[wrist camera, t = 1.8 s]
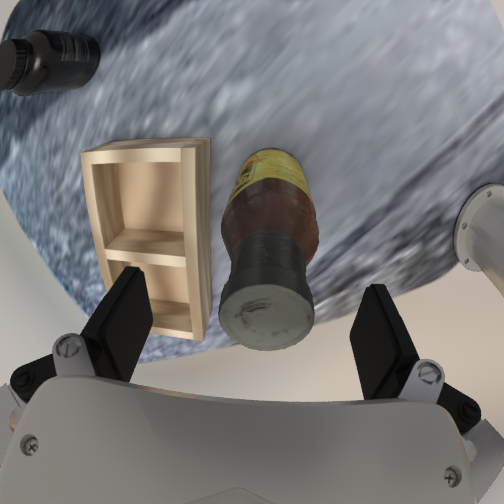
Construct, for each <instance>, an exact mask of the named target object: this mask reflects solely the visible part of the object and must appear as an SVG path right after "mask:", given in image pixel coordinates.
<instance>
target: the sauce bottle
mask: <svg viewBox="0 0 504 504" xmlns="http://www.w3.org/2000/svg"><path fill="white" fill-rule="evenodd" d="M221 235H222V238H223V241H224V244H225V246H226V249H227V252H228V254H229V257H230V259H231V262H232V263H231V274H230V276H229V280H228V281H227V283H226V284H225V285H224V288H223V291H222V293H221V301H220V306H219V312H218V315H219V321H220V324H221V327H222V328H223V330H224V331H225V332H226V333H227V335H228V336H229V337H230V338H231V339H233V340H234V341H236V342H238V343H239V344H241V345H243V346H245V347H248V348H250V349H255V350H259V351H273V350H279V349H285V348H287V347H290V346H292V345H295V344H297V343H298V342H300V341H301V340H303V339H304V338H305V337H306V335H308V333H309V332H310V331H311V329H312V326H313V322H314V314H315V313H314V304H313V299H312V294H311V291H310V288H309V286H308V284H307V282H306V274H305V273H306V266H307V265H308V264H309V263H310V261H311V260H312V258H313V256H314V254H315V252H316V251H317V247H318V244H319V238H318V236H319V231H318V225H317V221H316V212H315V208H314V205H313V201H312V198H311V195H310V192H309V188H308V185H307V182H306V179H305V176H304V173H303V170H302V168H301V166H300V164H299V163H298V162H297V161H296V159H295V158H294V157H293V156H292V155H290V154H288V153H287V152H285V151H282V150H280V149H276V148H266V149H263V150H260V151H258V152H257V153H254V154H253V155H252V156H250V157H249V158H248V159H247V160H246V161H245V163H244V164H243V166H242V168H241V171H240V173H239V175H238V178H237V180H236V183H235V185H234V188H233V190H232V193H231V195H230V198H229V201H228V203H227V206H226V209H225V212H224V214H223V218H222V222H221Z"/></svg>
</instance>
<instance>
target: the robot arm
mask: <svg viewBox="0 0 504 504" xmlns="http://www.w3.org/2000/svg"><path fill="white" fill-rule="evenodd" d="M454 250H455V253H456V256H457V258H458V260H459V261H460V263H462V265H463V266H464V267H466V268H467V269H468V270H471V271H477V272H478V271H483V272H484V273H485V274H486V276H487V277H488V278H489V279H490V280H491V281H492V283H493V284H494V285H495V286H496V288H497V289H498V290H499V291H500V292H501V294H502V295H503V297H504V186H503V185H500V184H494V183H492V184H488V185H485V186H483V187H481V188H480V189H478V190H477V191H476V192H475V193H474V194H473V195H472V196H471V197H470V198H469V199H468V201H467V202H466V204H465V205H464V207H463V208H462V210H461V212H460V214H459V217H458V220H457V223H456V226H455V231H454ZM152 325H153V314H152V309H151V305H150V300H149V295H148V290H147V285H146V279H145V274H144V271H141V269H140V267H135V266H126V267H125V268H124V269H123V271H122V272H121V274H120V275H119V277H118V278H117V279H116V281H115V282H114V284H113V285H112V287H111V288H110V290H109V291H108V293H107V294H106V295H105V296H104V298H103V299H102V301H101V302H100V304H99V305H98V307H97V308H96V310H95V311H94V313H93V314H92V316H91V318H90V319H89V321H88V322H87V324H86V326H85V327H84V329H83V330H82V332H81V334H80V335H78V334H76V333H69V334H65V335H63V336H61V337H60V338H58V339H57V340H56V342H55V343H54V345H53V350H52V352H53V353H52V354H50V355H47V356H45V357H42V358H40V359H37V360H35V361H33V362H30V363H28V364H25V365H23V366H21V367H19V368H17V369H16V370H15V371H14V372H13V374H12V376H11V379H10V384H9V385H7V384H6V383H5V384H4V385H3V386H1V387H0V504H477V503H478V502H479V501H480V499H481V498H482V497H483V496H484V494H485V493H486V492H487V490H488V489H489V487H490V486H491V485H492V483H493V482H494V480H495V479H496V477H497V476H498V474H499V473H500V471H501V470H502V468H503V467H504V439H503V437H502V436H501V435H500V434H499V433H498V432H497V431H496V430H495V428H494V427H493V426H492V425H491V424H490V423H489V422H488V421H487V420H486V419H484V420H482V419H481V409H480V407H479V405H478V404H477V402H476V401H474V400H473V399H471V398H470V397H468V396H467V395H465V394H463V393H461V392H460V391H458V390H457V389H455V388H453V387H451V386H450V385H448V384H447V383H445V382H444V380H445V374H444V371H443V369H442V367H441V366H440V365H439V364H438V363H436V362H435V361H433V360H430V359H421V360H420V358H419V356H418V353H417V351H416V349H415V347H414V344H413V342H412V340H411V337H410V335H409V333H408V331H407V329H406V326H405V324H404V322H403V320H402V318H401V316H400V315H399V313H398V310H397V308H396V306H395V304H394V302H393V300H392V298H391V296H390V294H389V292H388V290H387V288H386V286H385V285H384V284H371V285H370V287H367V288H366V289H365V292H364V295H363V298H362V301H361V304H360V307H359V309H358V312H357V315H356V318H355V320H354V323H353V326H352V328H351V331H350V342H351V346H352V350H353V354H354V358H355V362H356V366H357V370H358V374H359V379H360V383H361V388H362V392H363V396H364V400H357V401H333V402H281V401H257V400H244V399H231V398H222V397H212V396H203V395H195V394H188V393H182V392H176V391H169V390H164V389H158V388H153V387H148V386H142V385H137V384H132V383H129V382H130V379H131V377H132V374H133V372H134V369H135V366H136V364H137V361H138V359H139V357H140V354H141V352H142V349H143V347H144V344H145V342H146V339H147V337H148V335H149V332H150V330H151V328H152Z"/></svg>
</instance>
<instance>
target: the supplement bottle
mask: <svg viewBox="0 0 504 504" xmlns="http://www.w3.org/2000/svg"><path fill="white" fill-rule="evenodd" d="M98 59H99V50H98V46H97V44H96V42H95V41H94V40H93V39H92V38H91V37H89V36H87V35H82V34H76V33H69V32H61V31H51V30H35V31H32V32H30V33H28V34H26V35H25V36H24V37H22V38H18V39H8V40H5V41H4V42H2V43H1V44H0V91H2V90H12V92H14V93H15V94H17V95H19V96H30V95H36V94H42V93H48V92H55V91H63V90H71V89H75V88H78V87H80V86H82V85H83V84H85V83H86V82H87V81H88V80H89V79H90V77H91V76H92V75H93V73H94V71H95V69H96V67H97V63H98Z"/></svg>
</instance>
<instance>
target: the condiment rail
mask: <svg viewBox="0 0 504 504" xmlns="http://www.w3.org/2000/svg"><path fill="white" fill-rule="evenodd" d="M210 139H211V138H153V139H133V140H118V141H110V142H107V143H104V144H102V145H99V146H96V147H94V148H91V149H89V150H86V151H84V152H81V163H82V172H83V180H84V188H85V194H86V201H87V207H88V213H89V218H90V224H91V229H92V234H93V239H94V243H95V248H96V252H97V256H98V261H99V265H100V269H101V273H102V276H103V280H104V284H105V287H106V291H107V293H108V291H109V290H110V288H111V287H112V285H113V284H114V282H115V281H116V279H117V278H118V277H119V275H120V274H121V272H122V271H123V269H124V268H125V267H126V266H135V267H140V269H141V271H144V274H145V279H146V285H147V290H148V295H149V300H150V305H151V309H152V314H153V325H152V328H151V330H150V332H149V333H154V334H160V335H166V336H173V337H179V338H186V339H193V340H201V341H204V337H205V333H206V330H207V326H208V322H209V319H210V315H211V311H212V285H211V248H210Z"/></svg>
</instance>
